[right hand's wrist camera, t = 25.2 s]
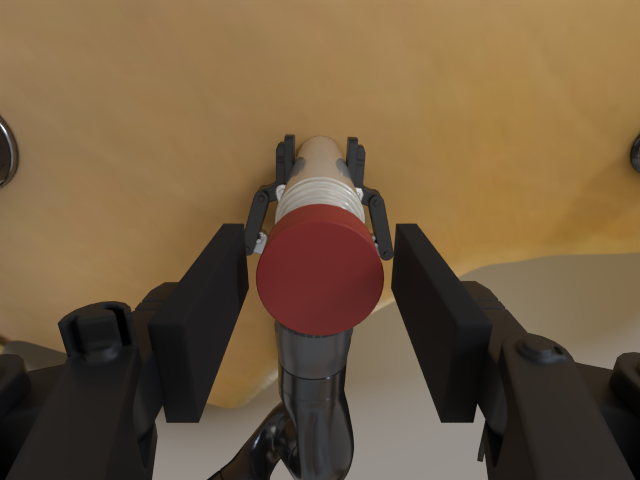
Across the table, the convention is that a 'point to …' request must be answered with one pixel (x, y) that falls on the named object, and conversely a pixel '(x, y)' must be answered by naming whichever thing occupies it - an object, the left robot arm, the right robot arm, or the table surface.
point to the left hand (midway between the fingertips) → (321, 137)
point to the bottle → (320, 180)
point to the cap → (320, 270)
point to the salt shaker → (636, 155)
